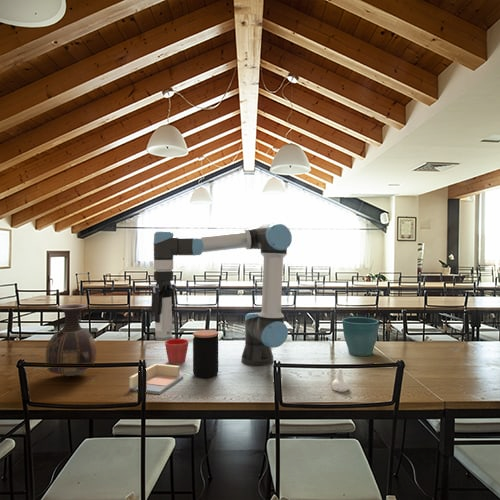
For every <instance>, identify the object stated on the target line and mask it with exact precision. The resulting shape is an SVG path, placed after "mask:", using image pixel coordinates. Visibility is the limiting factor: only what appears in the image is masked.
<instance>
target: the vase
mask: <svg viewBox="0 0 500 500" xmlns="http://www.w3.org/2000/svg"><path fill="white" fill-rule="evenodd" d="M86 308H88V304H85V303H69V304H62V305H57V306H56V309H58V310H61V311H62V312H64V314H63V315H64V325H63V327H62V329H59V330H58V331H56V332H55V333H54V334H53V335H52V337H51V338H50V340H49V341H48V343H47V345H46V349H45V355H44V360H45V364H46V363H77V364H85V363H94V364H95V362H96V360H97V345H96V342H95V339H94V337H93V335H92V334H91V332H90V331H88V330H87V329H86V328H83V327H81V324H80V314H81V311H83V310H84V309H86ZM46 369H47V370H48V371H49V372H50V373H52V374H57V375H62V376H67V377H69V376H73V377H74V376H77V375H83V374H84V372H85V371H86V370H87V369H89V368H47V367H46Z"/></svg>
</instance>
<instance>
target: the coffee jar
mask: <svg viewBox="0 0 500 500" xmlns="http://www.w3.org/2000/svg"><path fill="white" fill-rule="evenodd" d="M192 335H193V338H192V374H193V375H194V377H195V378H196V379H197V378H198V379H201V380H202V379H203V380H204V379H205V380H206V379H212V378H215V377H217V375H218V373H219V337H218V335H219V331H216V330H213V329H202V330H196V331H193V333H192Z"/></svg>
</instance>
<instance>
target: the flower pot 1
mask: <svg viewBox="0 0 500 500" xmlns="http://www.w3.org/2000/svg"><path fill="white" fill-rule="evenodd" d="M189 343H190V342H189V340H187V339H185V338H174V339H172V338H171V339H170V340H165V341H164V346H165V350H166V351H165V352H166V357H167V361H168V363H169V365H171V364H172V365H179V364H185V362H186V360H187V353H188V347H189Z"/></svg>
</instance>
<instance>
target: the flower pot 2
mask: <svg viewBox="0 0 500 500" xmlns="http://www.w3.org/2000/svg"><path fill="white" fill-rule="evenodd" d="M341 322H342V330H343V331H342V332H343V336H344V337H343V338H344V341H345V344H346V347H347V351H348V353H349V354H350V355H352V356H358V357H365V356H366V357H369V356H372V355H373V353H374V348H375V346H376V343H377V339H378V332H379V331H378V330H379V329H378V328H379V322H380V321H379V320H378V319H375V318H371V317H370V318H369V317H361V316H360V317H357V316H355V317H352V316H351V317H345V318H343V319H341Z"/></svg>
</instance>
